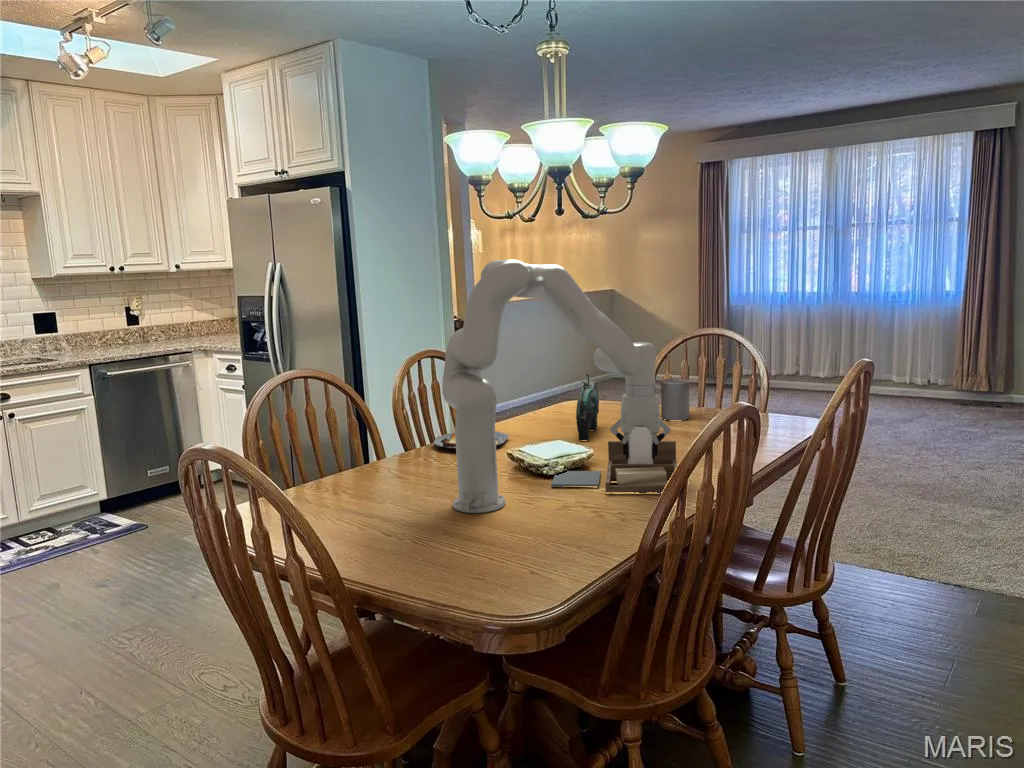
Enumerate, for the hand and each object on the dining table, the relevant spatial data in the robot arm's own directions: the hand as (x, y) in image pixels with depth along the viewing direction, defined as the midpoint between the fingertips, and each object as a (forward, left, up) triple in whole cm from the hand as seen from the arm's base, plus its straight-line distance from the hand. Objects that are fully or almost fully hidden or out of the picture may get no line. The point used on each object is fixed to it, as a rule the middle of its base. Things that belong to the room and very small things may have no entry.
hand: (640, 457), depth 198 cm
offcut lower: (-9, 0, -6) cm, 11 cm away
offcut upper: (-9, 0, -3) cm, 10 cm away
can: (0, 0, -3) cm, 3 cm away
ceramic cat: (+48, +17, -6) cm, 51 cm away
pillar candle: (+71, -12, -6) cm, 73 cm away
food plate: (+36, +54, -6) cm, 65 cm away
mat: (-4, +17, -5) cm, 18 cm away
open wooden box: (-4, 0, -5) cm, 7 cm away
